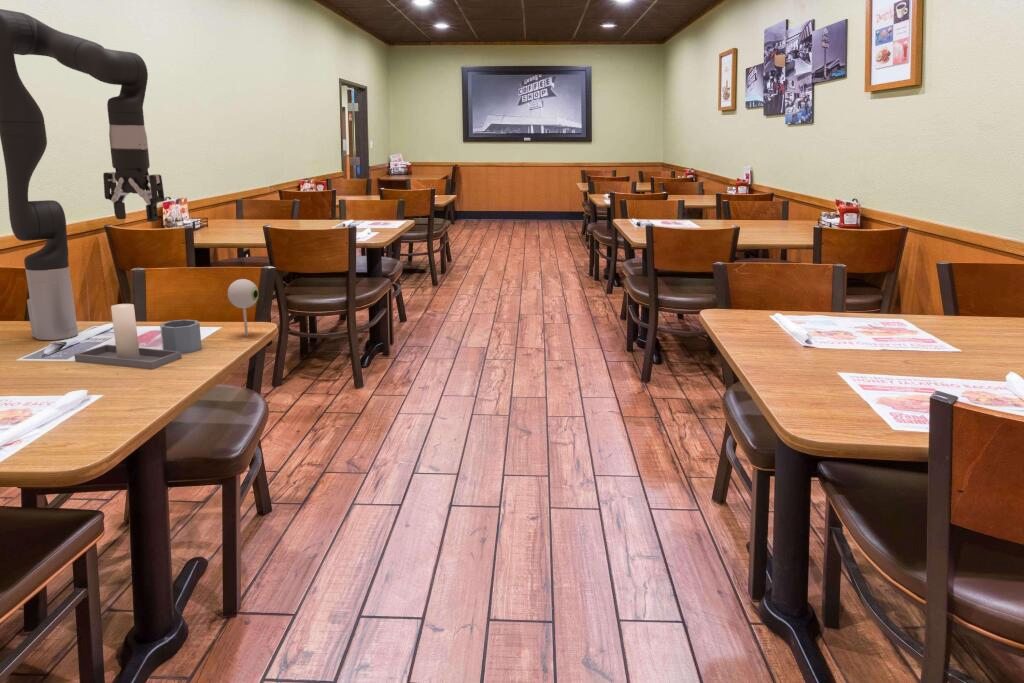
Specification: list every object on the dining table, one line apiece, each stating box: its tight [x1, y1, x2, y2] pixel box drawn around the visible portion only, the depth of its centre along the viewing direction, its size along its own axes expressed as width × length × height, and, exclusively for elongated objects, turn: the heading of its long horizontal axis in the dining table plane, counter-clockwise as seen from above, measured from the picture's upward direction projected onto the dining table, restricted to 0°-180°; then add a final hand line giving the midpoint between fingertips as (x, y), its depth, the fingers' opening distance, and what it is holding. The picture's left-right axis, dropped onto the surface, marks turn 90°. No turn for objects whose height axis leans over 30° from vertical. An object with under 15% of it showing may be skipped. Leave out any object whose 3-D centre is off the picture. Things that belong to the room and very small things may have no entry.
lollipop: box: [227, 278, 260, 337], centre depth 189 cm, size 7×7×15 cm
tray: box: [74, 344, 182, 370], centre depth 169 cm, size 20×9×2 cm, turn 74°
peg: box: [110, 303, 140, 360], centre depth 167 cm, size 4×4×12 cm
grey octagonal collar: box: [159, 319, 203, 355], centre depth 177 cm, size 8×8×7 cm
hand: (136, 220), depth 175 cm, fingers open, 8 cm apart
